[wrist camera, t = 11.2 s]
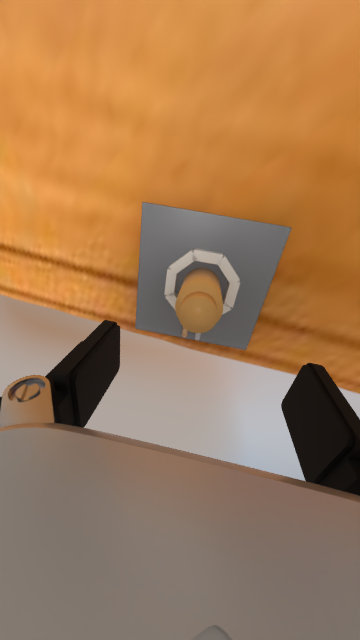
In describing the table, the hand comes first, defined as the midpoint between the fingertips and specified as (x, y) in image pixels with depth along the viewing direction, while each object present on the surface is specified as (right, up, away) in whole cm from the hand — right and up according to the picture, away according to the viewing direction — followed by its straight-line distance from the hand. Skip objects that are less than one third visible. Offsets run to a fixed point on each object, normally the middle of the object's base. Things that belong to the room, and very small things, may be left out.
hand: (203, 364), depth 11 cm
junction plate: (+1, +7, +13) cm, 15 cm away
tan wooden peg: (+1, +6, +12) cm, 13 cm away
